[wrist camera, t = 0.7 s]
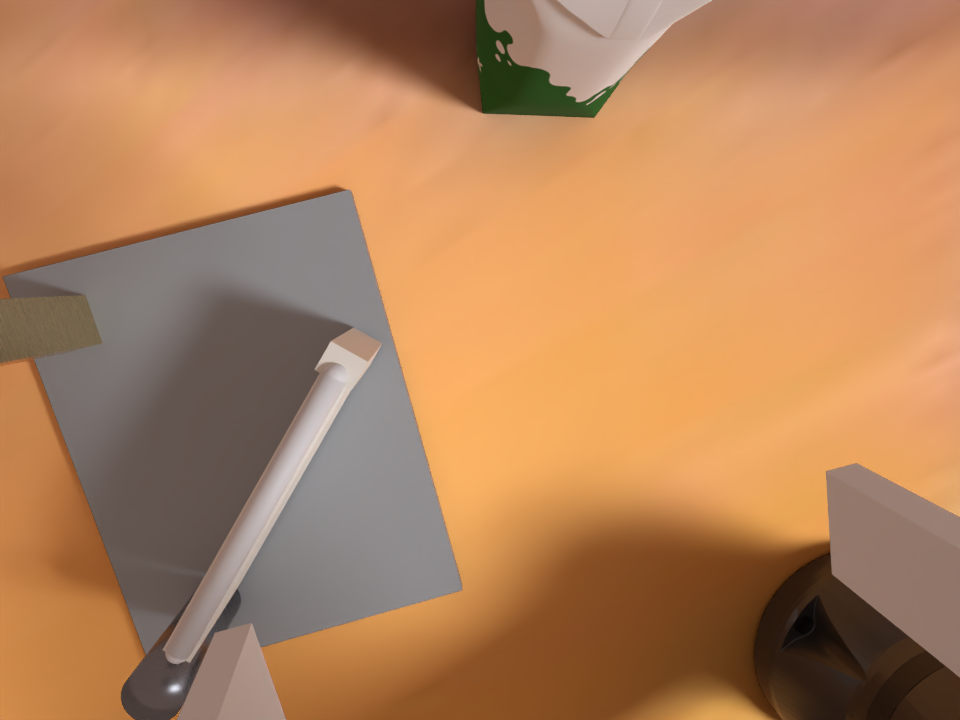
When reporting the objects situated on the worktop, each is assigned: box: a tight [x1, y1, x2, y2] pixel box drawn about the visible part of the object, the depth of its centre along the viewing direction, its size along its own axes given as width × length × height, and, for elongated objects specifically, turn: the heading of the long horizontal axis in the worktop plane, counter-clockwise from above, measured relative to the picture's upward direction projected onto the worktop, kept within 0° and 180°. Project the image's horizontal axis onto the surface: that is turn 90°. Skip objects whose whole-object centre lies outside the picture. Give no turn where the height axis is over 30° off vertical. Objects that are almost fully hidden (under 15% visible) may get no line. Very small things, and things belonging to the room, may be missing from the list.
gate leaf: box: [163, 328, 383, 664], centre depth 33 cm, size 18×2×9 cm, turn 149°
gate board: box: [3, 190, 462, 655], centre depth 38 cm, size 27×21×1 cm
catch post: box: [0, 295, 103, 366], centre depth 31 cm, size 3×2×10 cm
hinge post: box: [121, 589, 241, 720], centre depth 34 cm, size 3×3×10 cm
